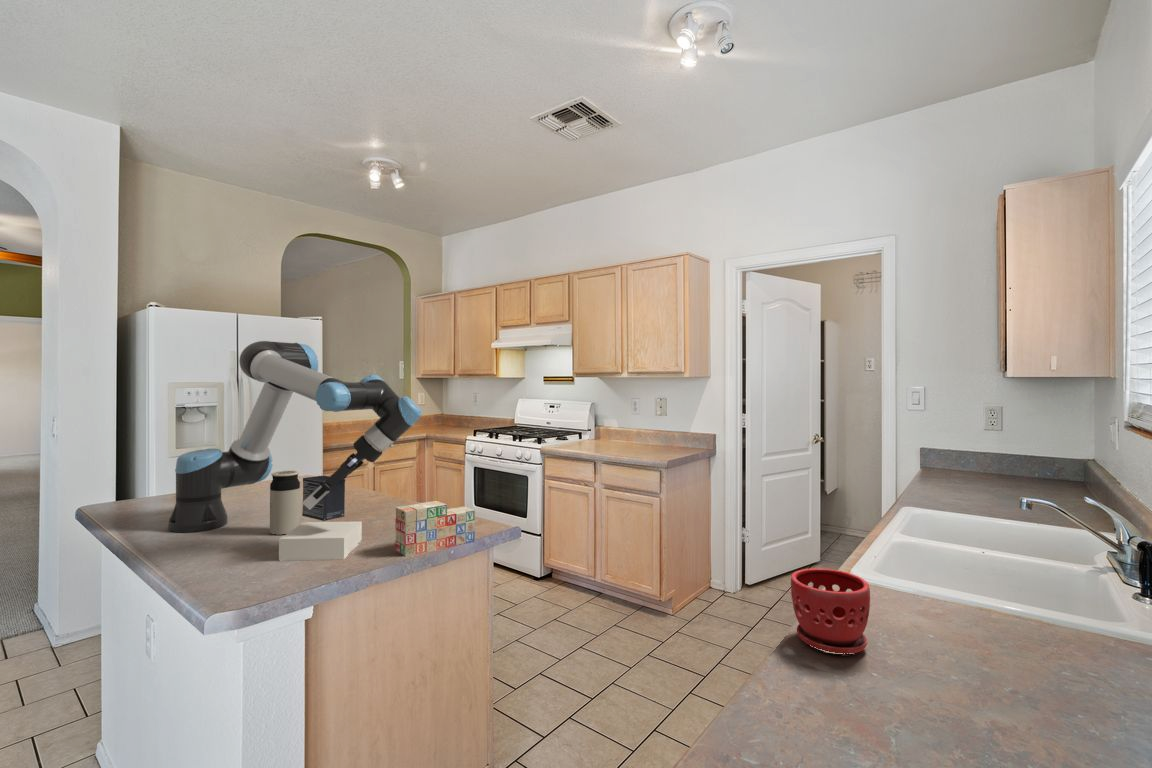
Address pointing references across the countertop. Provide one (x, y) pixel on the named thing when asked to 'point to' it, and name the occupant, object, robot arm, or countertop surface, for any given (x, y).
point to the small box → (324, 499)
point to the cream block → (320, 541)
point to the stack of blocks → (432, 527)
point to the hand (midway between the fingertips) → (312, 501)
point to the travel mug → (284, 502)
